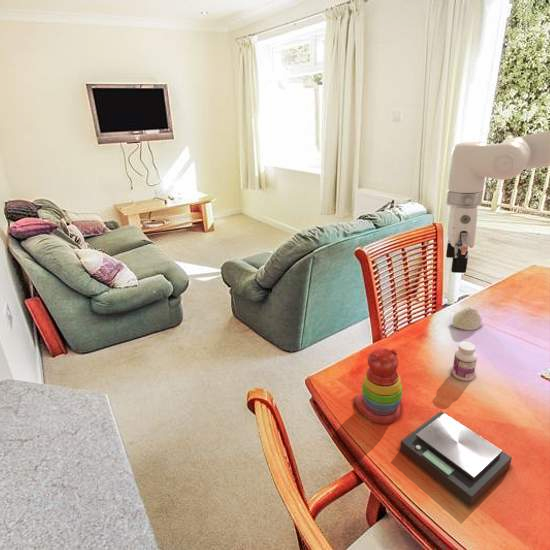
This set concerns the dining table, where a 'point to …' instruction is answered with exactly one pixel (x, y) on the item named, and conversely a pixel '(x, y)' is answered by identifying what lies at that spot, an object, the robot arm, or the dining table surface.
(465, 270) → the robot arm
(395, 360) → the stacking bear
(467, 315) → the seashell
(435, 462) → the scale
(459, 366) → the pill bottle
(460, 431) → the weighing pan
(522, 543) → the dining table surface
